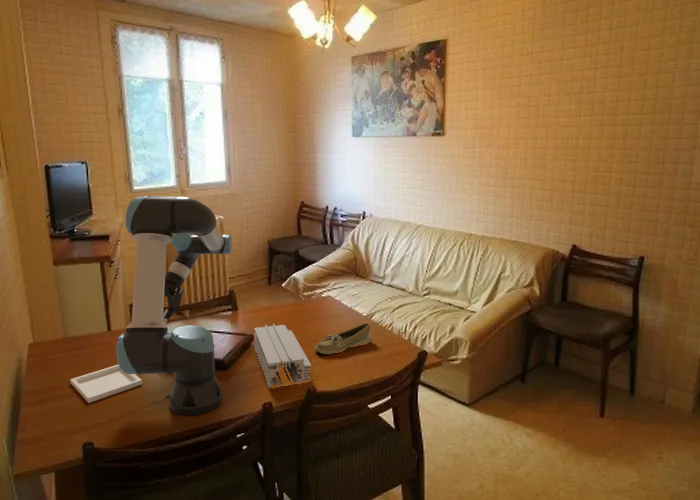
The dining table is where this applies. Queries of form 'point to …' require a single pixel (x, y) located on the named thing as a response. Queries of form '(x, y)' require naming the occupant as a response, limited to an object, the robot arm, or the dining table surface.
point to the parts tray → (104, 383)
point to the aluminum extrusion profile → (280, 354)
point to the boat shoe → (344, 339)
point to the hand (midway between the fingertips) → (147, 322)
